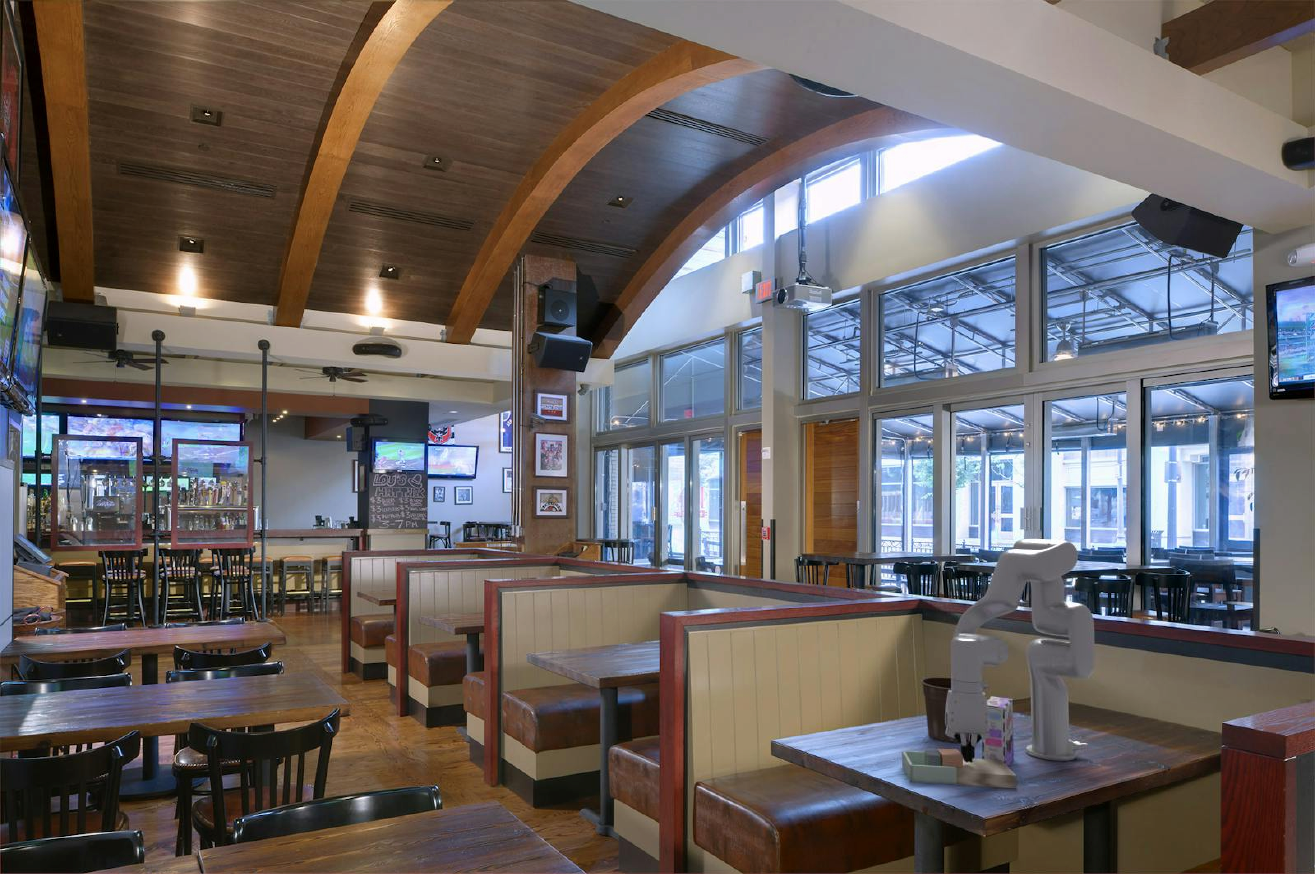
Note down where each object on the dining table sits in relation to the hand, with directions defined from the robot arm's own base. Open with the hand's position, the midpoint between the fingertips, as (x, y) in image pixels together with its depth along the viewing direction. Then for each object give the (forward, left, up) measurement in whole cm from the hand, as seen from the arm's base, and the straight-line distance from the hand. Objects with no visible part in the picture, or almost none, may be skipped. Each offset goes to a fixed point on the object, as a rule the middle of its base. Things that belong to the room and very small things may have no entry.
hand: (967, 760), depth 213 cm
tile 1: (+7, 0, -1) cm, 7 cm away
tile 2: (+4, 0, -1) cm, 5 cm away
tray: (+10, 0, -4) cm, 10 cm away
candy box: (-11, -14, -4) cm, 18 cm away
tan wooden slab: (-3, 0, -4) cm, 5 cm away
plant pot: (-4, -39, -4) cm, 39 cm away
